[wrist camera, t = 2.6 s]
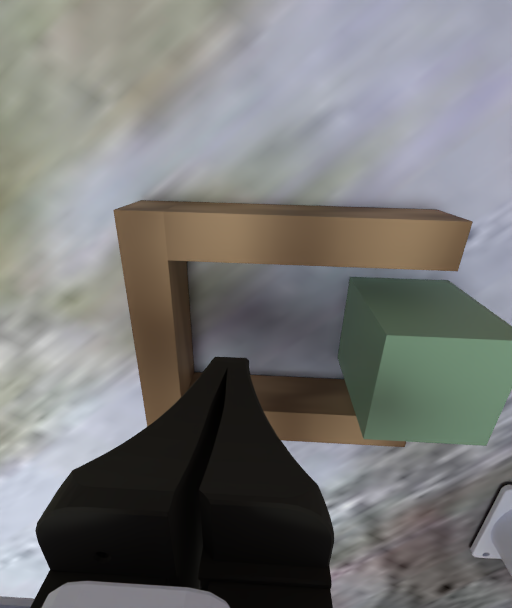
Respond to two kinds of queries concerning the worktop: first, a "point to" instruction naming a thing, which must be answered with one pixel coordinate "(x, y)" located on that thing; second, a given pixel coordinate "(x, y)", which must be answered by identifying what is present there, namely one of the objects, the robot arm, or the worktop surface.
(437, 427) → the green block
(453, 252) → the wooden u-shaped bracket
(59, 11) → the worktop surface
